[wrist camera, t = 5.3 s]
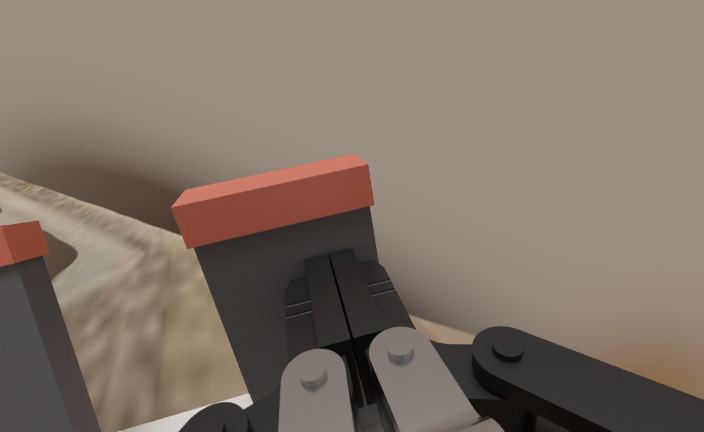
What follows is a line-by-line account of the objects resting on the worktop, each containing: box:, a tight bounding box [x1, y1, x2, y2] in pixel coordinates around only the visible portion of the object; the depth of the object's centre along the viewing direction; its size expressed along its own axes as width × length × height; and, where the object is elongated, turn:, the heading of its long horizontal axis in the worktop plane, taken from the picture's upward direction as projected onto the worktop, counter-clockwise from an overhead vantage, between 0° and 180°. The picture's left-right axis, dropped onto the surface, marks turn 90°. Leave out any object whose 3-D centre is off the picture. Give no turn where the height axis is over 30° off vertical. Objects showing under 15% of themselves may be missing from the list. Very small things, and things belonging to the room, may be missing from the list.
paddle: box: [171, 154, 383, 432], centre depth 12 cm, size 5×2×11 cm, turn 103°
